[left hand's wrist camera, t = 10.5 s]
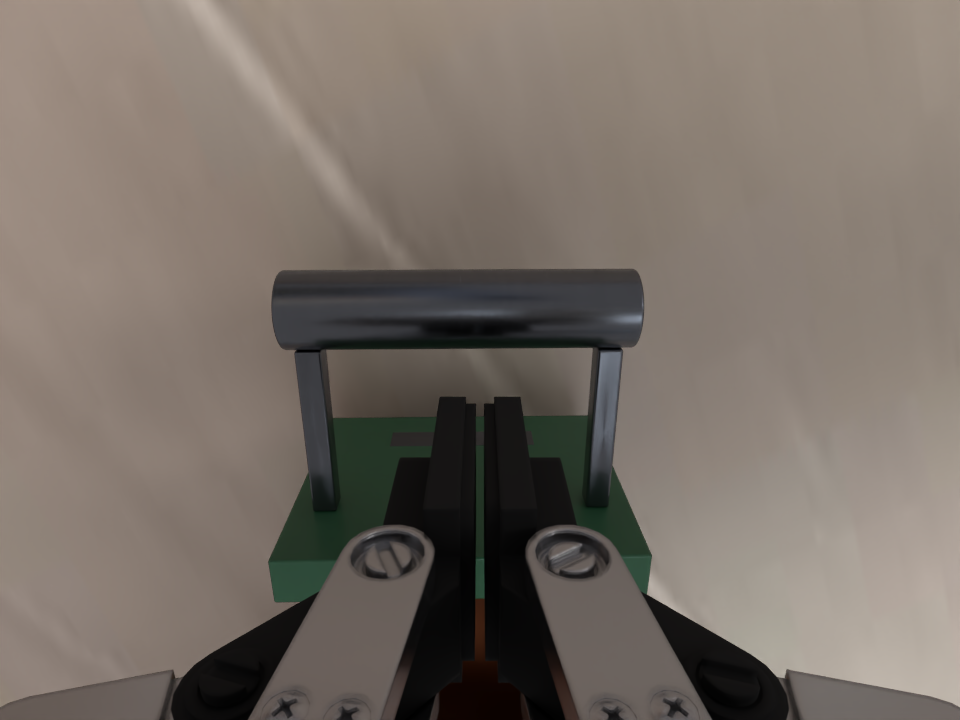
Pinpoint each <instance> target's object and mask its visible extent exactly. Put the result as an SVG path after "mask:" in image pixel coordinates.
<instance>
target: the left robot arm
mask: <svg viewBox="0 0 960 720" xmlns="http://www.w3.org/2000/svg"><path fill="white" fill-rule="evenodd" d="M475 595H476V404H466V397H440V398H439V405H438V411H437V418H436V425H435V431H434V438H433V444H432V451H431V457H401V458H400V459H399V462H398V466H397V470H396V474H395V478H394V482H393V486H392V490H391V494H390V498H389V502H388V506H387V511H386V515H385V519H384V523H383V526H379V527H373V528H371V529H368V530H366V531H364V532H361V533H360V534H358V535H357V536H355V537H354V538H352V539H351V540H350V541H349V542H348V543H347V545H346V546H345V547H344V548H343V550H342V552H341V554H340V555H339V557H338V559H337V561H336V563H335V564H334V566H333V568H332V570H331V572H330V573H329V575H328V577H327V579H326V581H325V582H324V584H323V586H322V588H321V590H320V591H319V592H317V593H315V594H313V595H312V596H310V597H308V598H307V599H305V600H303V601H301V602H300V603H298V604H296V605H294V606H293V607H291V608H289V609H287V610H286V611H284V612H282V613H280V614H279V615H277V616H275V617H273V618H272V619H270V620H268V621H267V622H265V623H263V624H261V625H260V626H258V627H256V628H254V629H253V630H251V631H249V632H247V633H246V634H244V635H242V636H240V637H239V638H237V639H235V640H234V641H232V642H230V643H228V644H227V645H225V646H223V647H221V648H220V649H218V650H216V651H214V652H213V653H211V654H209V655H208V656H206V657H205V658H204V659H202V660H201V661H199V662H198V663H197V664H195V665H194V666H193V667H192V668H191V669H190V670H189V671H188V673H187V674H186V675H185V676H184V677H181V678H175V675H174V671H173V670H168V671H163V672H157V673H152V674H147V675H141V676H136V677H131V678H125V679H120V680H115V681H109V682H104V683H98V684H93V685H88V686H82V687H77V688H72V689H66V690H61V691H56V692H50V693H45V694H40V695H34V696H29V697H26V698H23V699H20V700H17V701H13V702H10V703H8V704H6V705H4V706H2V707H0V720H437V717H438V713H439V702H440V696H439V691H441V690H442V689H443V688H444V687H446V686H447V685H448V684H449V683H462V664H463V661H475ZM484 595H485V661H497V664H498V683H511V684H512V685H513V686H514V687H516V688H517V689H518V690H519V691H521V696H520V702H521V713H522V717H523V720H960V707H958V706H956V705H954V704H952V703H950V702H947V701H943V700H940V699H937V698H934V697H931V696H926V695H920V694H915V693H910V692H904V691H899V690H894V689H888V688H883V687H878V686H872V685H867V684H862V683H856V682H851V681H845V680H840V679H835V678H829V677H824V676H819V675H813V674H808V673H803V672H797V671H792V670H787V671H786V675H785V678H779V677H776V676H775V675H774V674H773V673H772V671H771V670H770V669H769V668H768V667H767V666H766V665H765V664H763V663H762V662H761V661H759V660H758V659H756V658H755V657H754V656H752V655H751V654H749V653H747V652H746V651H744V650H742V649H740V648H739V647H737V646H735V645H733V644H732V643H730V642H728V641H726V640H725V639H723V638H721V637H720V636H718V635H716V634H714V633H713V632H711V631H709V630H707V629H706V628H704V627H702V626H700V625H699V624H697V623H695V622H693V621H692V620H690V619H688V618H687V617H685V616H683V615H681V614H680V613H678V612H676V611H674V610H673V609H671V608H669V607H667V606H666V605H664V604H662V603H660V602H659V601H657V600H655V599H653V598H652V597H650V596H648V595H647V594H645V593H643V592H641V591H640V590H639V588H638V586H637V584H636V582H635V581H634V579H633V577H632V575H631V573H630V572H629V570H628V568H627V566H626V564H625V563H624V561H623V559H622V557H621V555H620V554H619V552H618V550H617V548H616V547H615V546H614V545H613V544H612V542H611V541H610V540H609V539H608V538H606V537H605V536H603V535H602V534H600V533H599V532H596V531H594V530H592V529H589V528H587V527H581V526H577V523H576V519H575V515H574V511H573V506H572V502H571V498H570V494H569V490H568V486H567V482H566V478H565V474H564V470H563V466H562V462H561V459H560V458H559V457H529V451H528V444H527V438H526V431H525V425H524V418H523V411H522V405H521V398H520V397H494V404H484Z"/></svg>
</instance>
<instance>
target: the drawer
mask: <svg viewBox="0 0 960 720" xmlns="http://www.w3.org/2000/svg"><path fill="white" fill-rule="evenodd" d="M271 307H272V322H273V328H274V332H275V336H276V339H277V341H278V344H279V345H280V347H281V348H282V349H285V350H296V351H295V353H294V354H295V363H296V371H297V379H298V388H299V396H300V404H301V413H302V421H303V429H304V438H305V446H306V454H307V463H308V471H309V472H308V474H307V477H306V479H305V481H304V483H303V486H302V488H301V490H300V492H299V494H298V497H297V499H296V501H295V503H294V506H293V508H292V510H291V512H290V514H289V517H288V519H287V521H286V523H285V526H284V528H283V530H282V532H281V534H280V537H279V539H278V541H277V543H276V546H275V548H274V550H273V552H272V554H271V557H270V559H269V561H268V563H269V569H270V576H271V582H272V588H273V595H274V601H275V602H301V601H303V600H305V599H307V598H308V597H310V596H312V595H313V594H315V593H317V592H319V591H320V590H321V588H322V586H323V584H324V582H325V581H326V579H327V577H328V575H329V573H330V572H331V570H332V568H333V566H334V564H335V563H336V561H337V559H338V557H339V555H340V554H341V552H342V550H343V548H344V547H345V546H346V545H347V543H348V542H349V541H350V540H351V539H352V538H354V537H355V536H357V535H358V534H360V533H361V532H364V531H366V530H368V529H371V528H373V527H379V526H383V523H384V519H385V515H386V511H387V506H388V502H389V498H390V494H391V490H392V486H393V482H394V478H395V474H396V470H397V466H398V462H399V459H400V458H401V457H431V451H432V444H433V438H434V431H435V425H436V418H437V417H390V418H333V414H332V404H331V394H330V384H329V374H328V364H327V354H326V350H353V349H487V348H593V354H592V367H591V381H590V394H589V407H588V415H587V416H523V418H524V425H525V431H526V438H527V444H528V451H529V457H559V458H560V459H561V462H562V466H563V470H564V474H565V478H566V482H567V486H568V490H569V494H570V498H571V502H572V506H573V511H574V515H575V519H576V523H577V526H581V527H587V528H589V529H592V530H594V531H596V532H599V533H600V534H602V535H603V536H605V537H606V538H608V539H609V540H610V541H611V542H612V544H613V545H614V546H615V547H616V548H617V550H618V552H619V554H620V555H621V557H622V559H623V561H624V563H625V564H626V566H627V568H628V570H629V572H630V573H631V575H632V577H633V579H634V581H635V582H636V584H637V586H638V588H639V590H640V591H641V592H643V593H645V594H647V589H648V582H649V574H650V566H651V559H652V555H651V552H650V550H649V548H648V546H647V543H646V541H645V539H644V536H643V534H642V532H641V530H640V527H639V525H638V523H637V520H636V518H635V516H634V514H633V511H632V509H631V507H630V504H629V502H628V500H627V498H626V495H625V493H624V491H623V488H622V486H621V484H620V482H619V479H618V477H617V475H616V473H615V470H614V468H613V466H612V463H613V453H614V442H615V431H616V421H617V410H618V400H619V389H620V379H621V368H622V358H623V350H622V348H621V347H634V346H635V345H636V344H637V342H638V340H639V338H640V335H641V331H642V326H643V318H644V294H643V287H642V282H641V279H640V276H639V274H638V272H637V271H636V270H634V269H483V270H283V271H281V272H279V273H278V275H277V276H276V279H275V282H274V286H273V291H272V305H271ZM439 696H440V702H439V713H438V717H437V720H523V717H522V713H521V702H520V696H521V691H519V690H518V689H517V688H516V687H514V686H513V685H512V684H511V683H498V664H497V661H485V595H484V417H476V595H475V661H463V664H462V683H449V684H448V685H447V686H446V687H444V688H443V689H442V690H441V691H439Z"/></svg>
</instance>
